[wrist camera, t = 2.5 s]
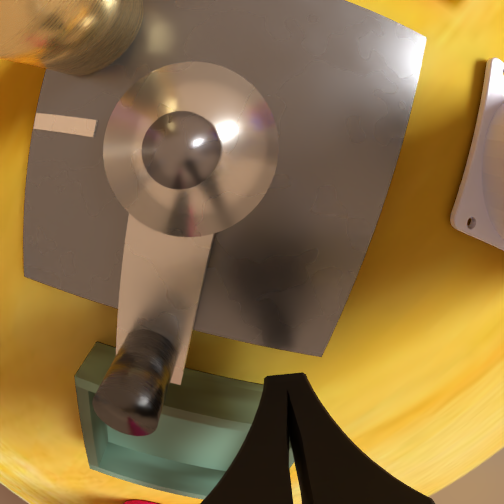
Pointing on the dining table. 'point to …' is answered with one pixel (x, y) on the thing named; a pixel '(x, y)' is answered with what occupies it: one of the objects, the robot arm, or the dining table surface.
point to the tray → (171, 430)
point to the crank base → (287, 170)
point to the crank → (175, 217)
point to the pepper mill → (138, 502)
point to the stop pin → (68, 32)
